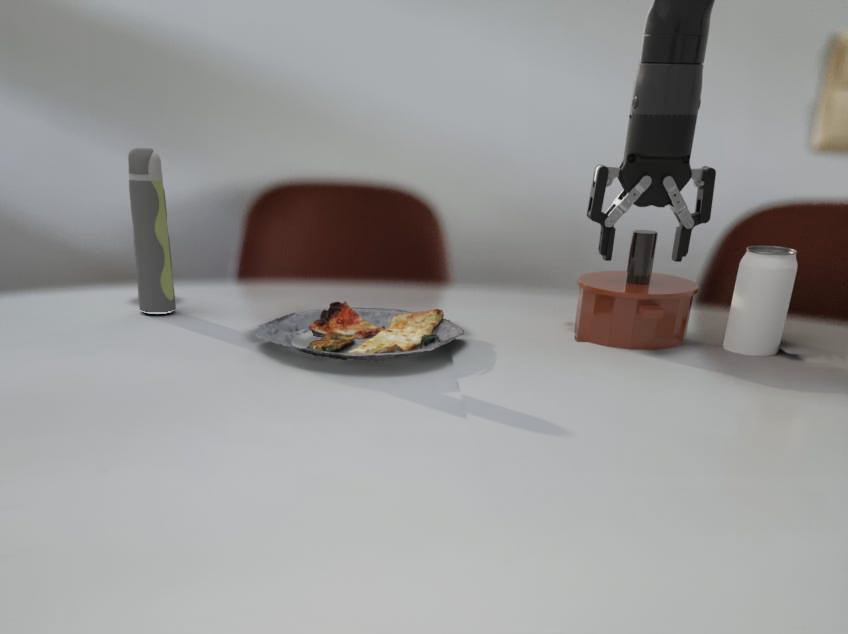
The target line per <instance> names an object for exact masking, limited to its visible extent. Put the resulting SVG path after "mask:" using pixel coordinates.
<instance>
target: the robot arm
mask: <svg viewBox="0 0 848 634" xmlns="http://www.w3.org/2000/svg"><path fill="white" fill-rule="evenodd" d="M715 2H716V0H653V1H652V3H651V5H650V7H649V8H648V10H647V13H646V17H645V20H644V24H643V31H642V36H641V37H642V38H641V44H640V45H641V46H640V50H639V59H638V62H639V63H638V66H637V70H636V74H635V78H634V83H633V87H632V92H631V93H632V94H631V102H630V108H629V115H628V123H627V131H626V138H625V145H624V152H623V159H622V161H621V163H620V165H619V167H617V166H615V167H614V166H606V165H604V164H597V165H596V166H595V167H594V170H593V177H592V182H591V187H590V193H589V198H588V204H587V210H586V217H587V218H588V219H589V220H591V221H592V222H595V223H597V224H599V225H600V232H599V233H600V234H599V241H598V247H597V249H598V253H599V255H600V256H602V257H601V258H602V260H603V261H604V262H605V261H606V262H611V261H612V258H613V252H614V244H615V239H616V230H617V229H616V228H615V224H616V223H617V222H618V221H619V219H621V217H622V216H623V215H624V214H626V213H627V212H628V210H630V208H631V207H632V206H633V205H634V206H636V207H637V208H647V207H651V206H653V207H656V208H665V207H667V206H668V207H669V208H670V211H672V213H673V215H674V216H675V219H676V220H677V223H678V226H676V227H675V234H674V239H673V246H672V247H673V248H672V252H671V260H672V261H673V262H676V263H681V262H682V260H683V257H684V258H685V257H687V255H688V253H689V250H690V243H691V238H692V231H693V229H694V227H697V226H698V225H699V226H700V225H701V224H707V223H709V222H710V220H711V216H712V208H713V201H714V192H715V184H716V176H717V171H716V169H715V168H713V167H712V166H711V167H710V166H708V165H704V166H702V167H701V168H691V157H692V150H693V144H694V138H695V133H696V126H697V122H698V121H697V119H698V114H699V110H700V108H701V102H702V99H701V96H702V90H703V76H704V75H703V74H704V63H705V58H706V54H707V53H706V52H707V46H708V42H709V41H708V40H709V33H710V27H711V26H710V25H711V17H712V12H713V8H714V5H715ZM616 178H617V180H618V181H619V183H620V186H621V187H622V190H621V191H620V193H618V195H616V197H615V199H614V200H613V201H612V204H611V205H610V206H609V207H608V208H607V210H606V211H605V212H603V207H604V206H603V205H604V199H605V195H606V189H607V188H608V187H610V186H611V185H612V184H613V181H614V180H615V179H616ZM691 179H692V181H693V186H694V187H695V188H697V189H696V190H697V191H696V199H695V207H694V212H692V213H691V212H690V210H689V208H688V205H687V203H686V201H685V199H684V197H683V194H682V193H681V191H683V189H684V188H685V187H686V185H687V184H688V183H689V182H690V181H691Z"/></svg>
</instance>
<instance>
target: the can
mask: <svg viewBox="0 0 848 634" xmlns="http://www.w3.org/2000/svg"><path fill="white" fill-rule="evenodd" d="M797 253H798V250H796V249H794V248H791V247H784V246H777V245H751V246H750V245H749V246H747V247H746V252H745V253H744V255H743V256H742V258H741V259H740V261H739V265H738V269H737V274H736V277H735V284H734V288H733V293H732V298H731V303H730V308H729V312H728V318H727V323H726V329H725V334H724V338H723V343H722V348H723V349H724V350H726V351H728V352H731V353H734V354H737V355H743V356H751V357H767V356H768V357H769V356H774V355H777V354H778V353H779V350H780V345H781V342H782V337H783V332H784V328H785V324H786V321H787V317H788V312H789V308H790V303H791V299H792V294H793V290H794V285H795V281H796V276H797V272H798V266H799V265H798V260H797Z"/></svg>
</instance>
